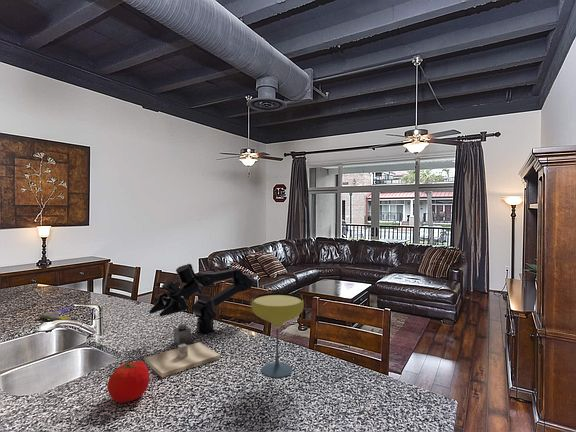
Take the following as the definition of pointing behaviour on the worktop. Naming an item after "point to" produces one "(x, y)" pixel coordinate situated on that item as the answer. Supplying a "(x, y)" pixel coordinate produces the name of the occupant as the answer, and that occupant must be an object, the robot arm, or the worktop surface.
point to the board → (181, 359)
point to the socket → (182, 335)
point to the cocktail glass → (277, 322)
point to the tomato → (128, 382)
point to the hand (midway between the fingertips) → (154, 314)
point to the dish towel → (55, 314)
